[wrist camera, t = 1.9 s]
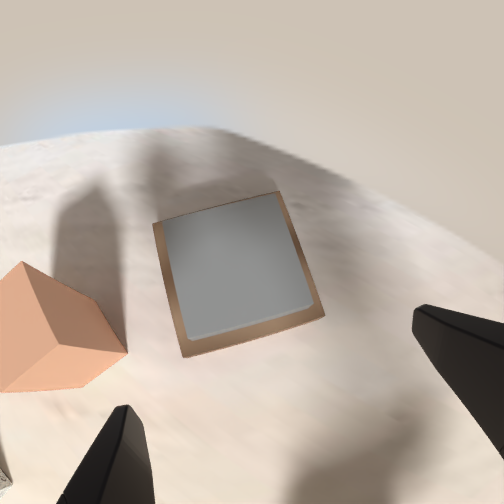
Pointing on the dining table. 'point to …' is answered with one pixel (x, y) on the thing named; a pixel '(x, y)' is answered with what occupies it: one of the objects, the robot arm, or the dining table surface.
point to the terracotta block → (51, 334)
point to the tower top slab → (234, 267)
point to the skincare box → (4, 484)
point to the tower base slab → (242, 334)
